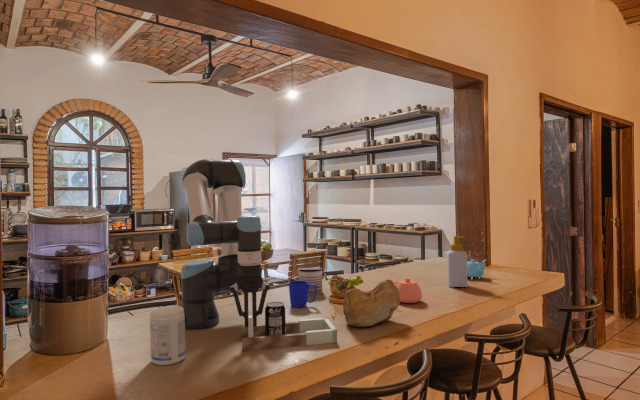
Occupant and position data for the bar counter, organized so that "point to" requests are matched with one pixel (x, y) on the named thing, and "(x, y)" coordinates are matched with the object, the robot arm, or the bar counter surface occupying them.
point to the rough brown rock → (371, 304)
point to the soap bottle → (457, 265)
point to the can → (312, 279)
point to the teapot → (475, 268)
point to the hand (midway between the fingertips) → (250, 336)
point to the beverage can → (275, 319)
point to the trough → (273, 338)
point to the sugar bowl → (409, 291)
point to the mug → (300, 293)
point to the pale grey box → (318, 331)
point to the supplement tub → (167, 335)
